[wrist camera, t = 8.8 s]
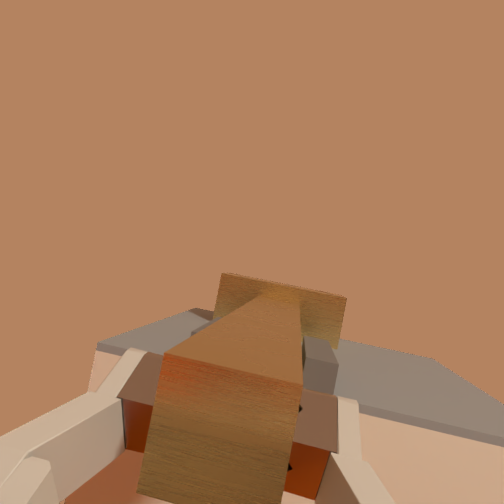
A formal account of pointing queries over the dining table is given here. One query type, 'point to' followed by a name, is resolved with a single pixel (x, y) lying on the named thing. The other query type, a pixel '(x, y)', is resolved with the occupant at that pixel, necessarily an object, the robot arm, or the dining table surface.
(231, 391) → the wooden t-shaped block
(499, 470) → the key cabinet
